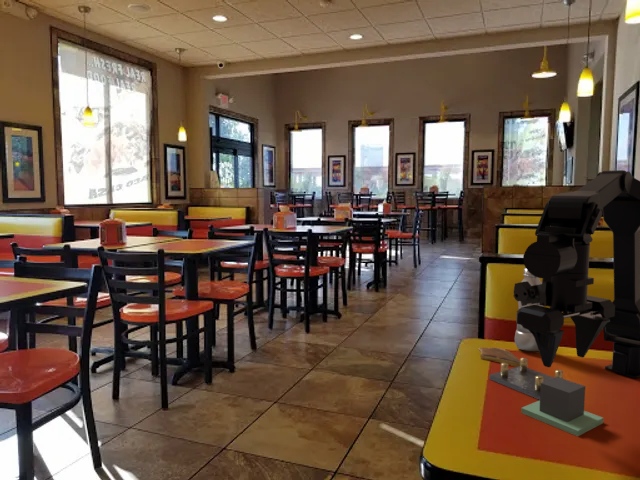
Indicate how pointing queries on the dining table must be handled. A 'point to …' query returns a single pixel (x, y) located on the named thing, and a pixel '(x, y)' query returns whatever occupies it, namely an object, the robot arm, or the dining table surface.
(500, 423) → the dining table surface
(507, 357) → the shard
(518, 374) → the chassis
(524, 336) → the plastic bottle
